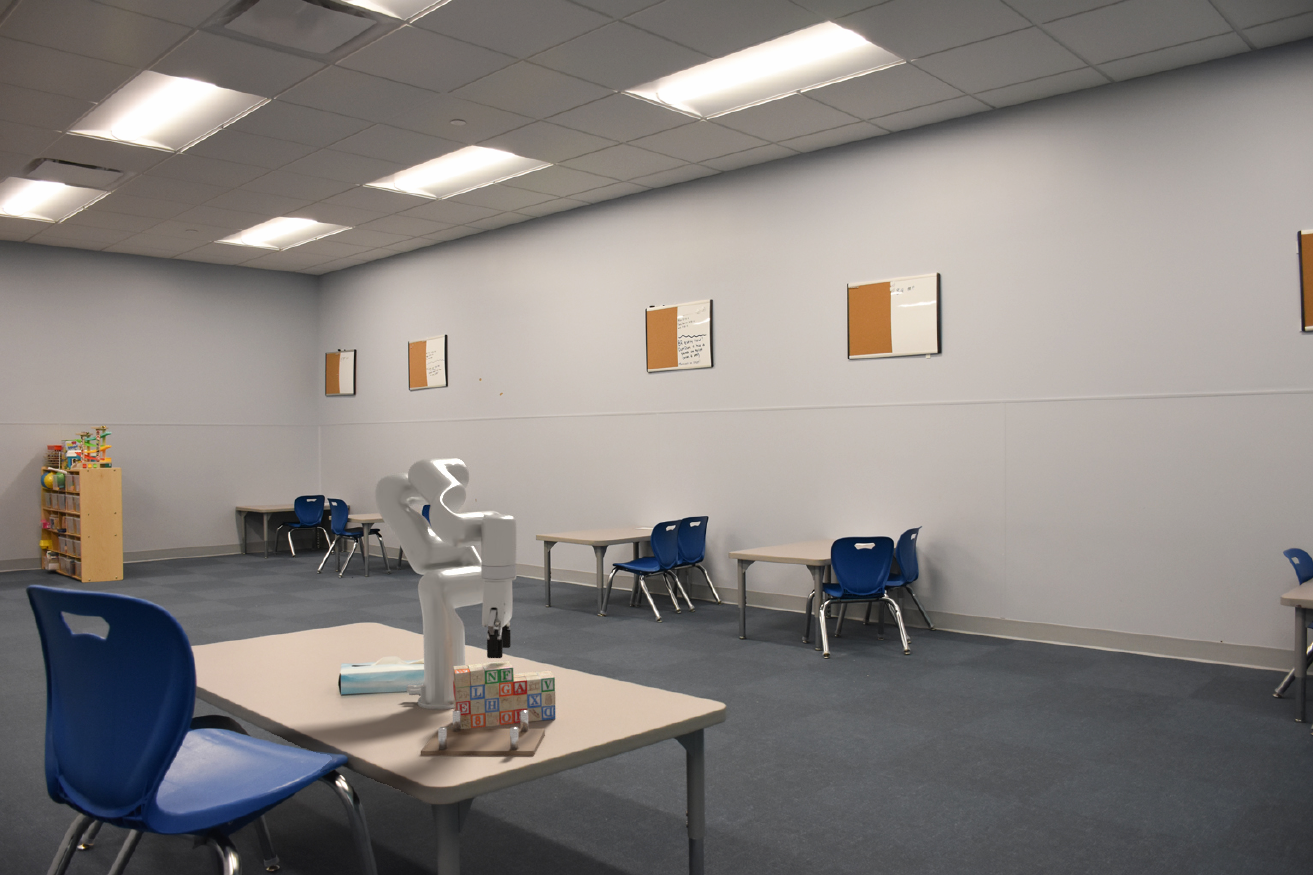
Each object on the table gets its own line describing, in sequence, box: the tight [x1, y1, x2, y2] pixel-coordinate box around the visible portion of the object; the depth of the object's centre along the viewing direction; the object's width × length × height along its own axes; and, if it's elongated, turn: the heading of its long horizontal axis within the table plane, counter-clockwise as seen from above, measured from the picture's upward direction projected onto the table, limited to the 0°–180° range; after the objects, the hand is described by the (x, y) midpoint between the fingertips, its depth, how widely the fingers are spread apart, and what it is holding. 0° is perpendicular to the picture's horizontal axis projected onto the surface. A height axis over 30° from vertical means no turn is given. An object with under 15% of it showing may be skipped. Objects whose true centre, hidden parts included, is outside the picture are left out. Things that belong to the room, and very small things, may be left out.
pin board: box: [420, 709, 546, 757], centre depth 183 cm, size 22×13×6 cm, turn 88°
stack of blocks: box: [453, 660, 556, 729], centre depth 200 cm, size 21×6×12 cm, turn 106°
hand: (499, 652), depth 200 cm, fingers open, 7 cm apart
